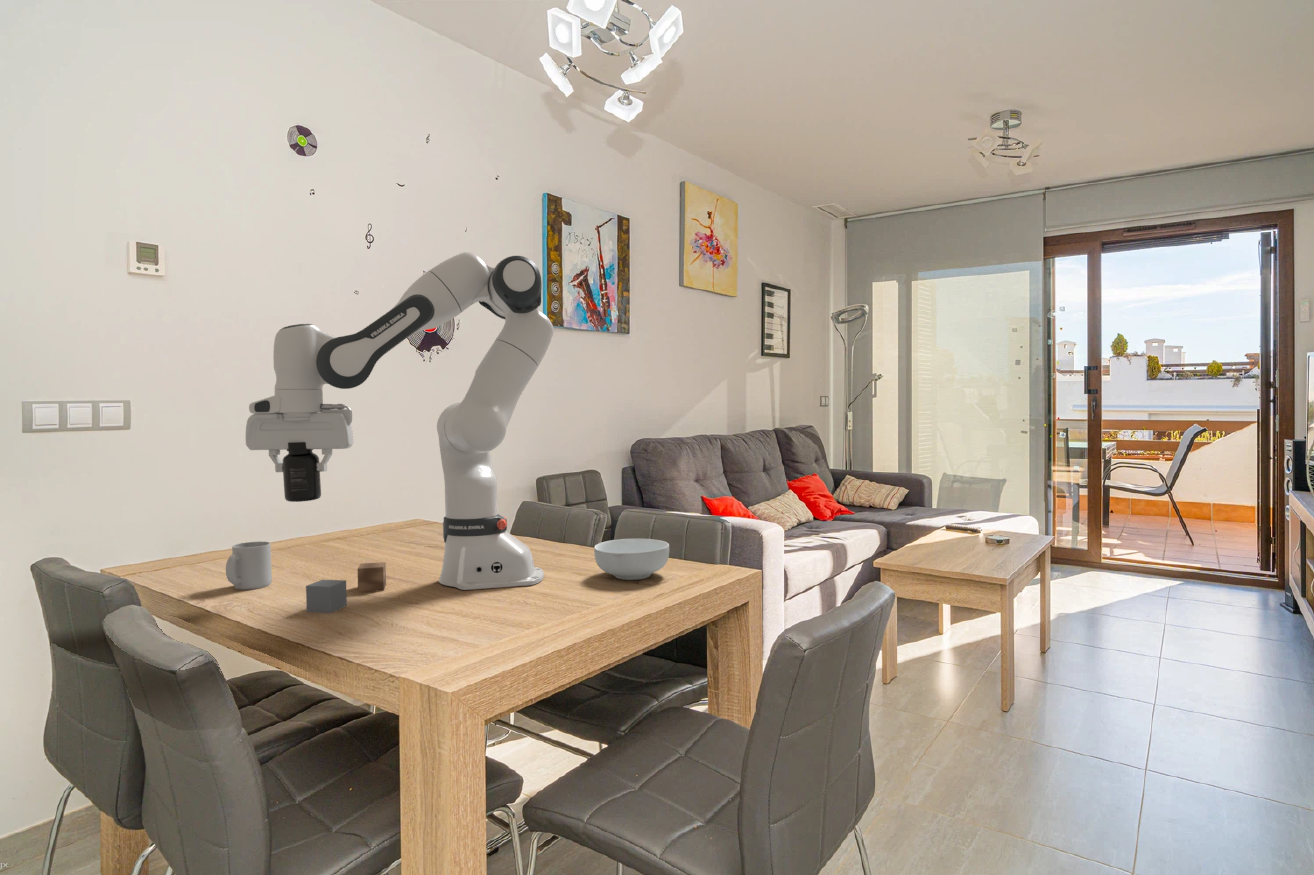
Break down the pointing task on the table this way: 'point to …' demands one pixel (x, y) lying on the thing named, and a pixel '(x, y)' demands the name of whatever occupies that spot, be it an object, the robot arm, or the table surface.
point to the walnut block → (371, 577)
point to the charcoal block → (326, 596)
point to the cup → (250, 565)
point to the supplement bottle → (301, 473)
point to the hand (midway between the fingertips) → (301, 471)
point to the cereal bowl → (631, 557)
